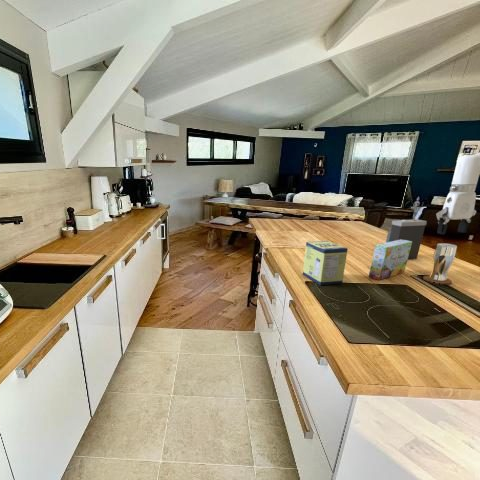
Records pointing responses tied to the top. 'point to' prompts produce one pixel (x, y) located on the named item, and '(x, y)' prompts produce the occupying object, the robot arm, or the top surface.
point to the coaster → (437, 281)
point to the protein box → (324, 262)
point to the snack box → (390, 259)
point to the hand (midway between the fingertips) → (451, 232)
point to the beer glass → (442, 261)
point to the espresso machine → (408, 234)
